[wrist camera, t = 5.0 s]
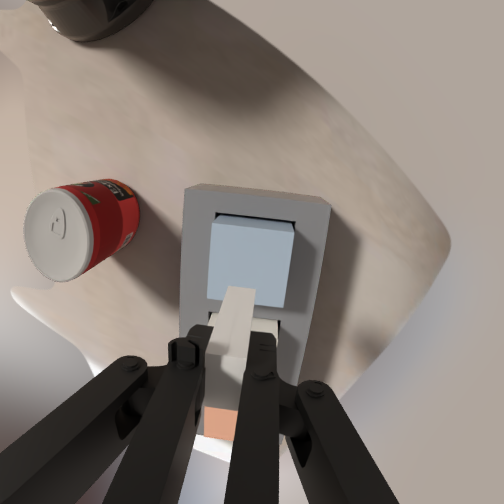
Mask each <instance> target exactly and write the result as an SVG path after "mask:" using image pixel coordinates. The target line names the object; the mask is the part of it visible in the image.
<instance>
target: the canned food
mask: <svg viewBox="0 0 504 504" xmlns="http://www.w3.org/2000/svg"><path fill="white" fill-rule="evenodd" d="M139 219H140V211H139V205H138V202H137V199H136V197H135V195H134V193H133V192H132V191H131V190H130V188H128V187H127V186H126V185H125V184H123V183H121V182H119V181H117V180H113V179H102V180H96V181H89V182H83V183H77V184H71V185H65V186H60V187H56V188H51V189H48V190H46V191H43V192H41V193H40V194H38V195H37V196H36V197H35V198H34V199H33V200H32V201H31V203H30V205H29V207H28V209H27V212H26V214H25V219H24V227H23V234H24V242H25V246H26V249H27V252H28V255H29V257H30V259H31V261H32V262H33V264H34V266H35V267H36V268H37V270H38V271H39V272H40V273H41V274H42V275H44V276H45V277H47V278H48V279H50V280H52V281H55V282H68V281H70V280H73V279H75V278H77V277H79V276H80V275H82V274H84V273H85V272H87V271H88V270H90V269H91V268H93V267H94V266H96V265H97V264H99V263H100V262H102V261H103V260H105V259H106V258H108V257H109V256H111V255H112V254H114V253H115V252H117V251H118V250H120V249H121V248H123V247H124V246H126V245H127V244H128V243H129V242H130V241H131V240H132V238H133V236H134V235H135V233H136V230H137V228H138V225H139Z"/></svg>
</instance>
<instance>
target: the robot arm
mask: <svg viewBox="0 0 504 504" xmlns="http://www.w3.org/2000/svg"><path fill="white" fill-rule="evenodd" d="M28 1H30V2H32V3H34V4H36V5H38V6H39V8H40V9H41V10H42V11H43V13H44V14H45V15H46V17H47V18H48V20H49V23H50V24H51V26H52V27H53V29H54V30H55V31H56V32H58V33H59V34H61V35H63V36H65V37H67V38H69V39H71V40H74V41H79V42H89V41H94V40H98V39H102V38H105V37H107V36H110V35H112V34H114V33H116V32H118V31H119V30H121V29H123V28H124V27H126V26H127V25H128V24H130V23H131V22H132V21H134V20H135V19H136V18H137V17H138V16H139V15H141V14H142V13H143V12H144V11H145V9H146V8H147V7H148V6H149V5H150V4H151V2H152V1H153V0H28ZM255 293H256V289H251V288H243V287H235V286H228V288H227V291H226V294H225V297H224V300H223V302H222V305H221V308H220V311H219V314H218V317H217V320H216V323H215V326H207V325H200V324H196V325H195V326H193V327H192V328H190V329H189V332H188V334H187V336H186V337H181V338H176V339H173V340H171V341H170V342H169V343H168V358H169V362H168V364H167V365H164V366H149V367H147V363H146V361H145V360H144V359H142V358H141V357H137V356H123V357H121V358H119V359H117V360H116V361H114V362H113V363H112V364H111V365H109V366H108V367H107V368H106V369H104V370H103V371H102V372H101V373H99V374H98V375H97V376H96V377H94V378H93V379H92V380H91V381H89V382H88V383H87V384H86V385H84V386H83V387H82V388H81V389H79V390H78V391H77V392H76V393H74V394H73V395H72V396H71V397H70V398H68V399H67V400H66V401H65V402H63V403H62V404H61V405H60V406H58V407H57V408H56V409H55V410H53V411H52V412H51V413H50V414H48V415H47V416H46V417H45V418H43V419H42V420H41V421H40V422H38V423H37V424H36V425H35V426H33V427H32V428H31V429H30V430H28V431H27V432H26V433H25V434H23V435H22V436H21V437H20V438H19V439H17V440H16V441H15V442H13V443H12V444H11V445H10V446H9V447H7V448H6V449H5V450H4V451H2V452H1V453H0V504H75V503H76V502H77V501H78V500H79V499H80V498H81V497H82V496H83V495H84V493H85V492H86V491H87V490H88V489H89V488H90V487H91V486H92V485H93V484H94V483H95V481H96V480H97V479H98V478H99V477H100V476H101V475H102V474H103V473H104V471H105V470H106V469H107V468H108V467H109V466H110V465H111V464H112V463H113V461H114V460H115V459H116V458H117V457H118V456H119V455H120V454H121V452H122V451H123V450H124V449H125V448H126V447H127V446H128V445H129V446H128V448H127V450H126V452H125V454H124V457H123V459H122V461H121V463H120V465H119V467H118V470H117V472H116V474H115V476H114V479H113V481H112V483H111V485H110V487H109V489H108V492H107V494H106V496H105V498H104V501H103V503H102V504H178V500H179V497H180V493H181V489H182V485H183V482H184V478H185V474H186V470H187V466H188V462H189V459H190V455H191V452H192V448H193V444H194V440H195V437H196V433H197V429H198V426H199V422H200V418H201V408H202V403H203V406H206V407H212V408H219V409H226V410H233V411H238V414H237V421H236V427H235V434H234V441H233V447H232V454H231V460H230V467H229V473H228V480H227V486H226V493H225V499H224V504H279V434H282V435H285V439H286V442H287V445H288V448H289V450H290V453H291V456H292V459H293V461H294V464H295V467H296V470H297V473H298V475H299V478H300V481H301V483H302V486H303V489H304V491H305V494H306V497H307V500H308V502H309V504H399V502H398V501H397V499H396V497H395V496H394V494H393V492H392V490H391V489H390V487H389V485H388V484H387V482H386V480H385V479H384V477H383V475H382V473H381V472H380V470H379V468H378V467H377V465H376V464H375V462H374V460H373V458H372V456H371V455H370V453H369V452H368V450H367V448H366V446H365V445H364V443H363V441H362V439H361V438H360V436H359V434H358V433H357V431H356V429H355V428H354V426H353V424H352V422H351V421H350V419H349V417H348V416H347V414H346V412H345V411H344V409H343V407H342V405H341V404H340V402H339V400H338V399H337V397H336V395H335V394H334V392H333V390H332V389H331V388H330V387H329V386H328V385H327V384H325V383H323V382H320V381H316V380H309V381H304V382H302V383H301V384H299V386H294V385H291V384H289V383H286V382H285V381H283V380H282V379H281V378H280V377H279V375H278V373H277V339H276V338H275V337H274V335H273V334H272V333H267V332H258V331H251V326H252V318H253V309H254V301H255Z"/></svg>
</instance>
